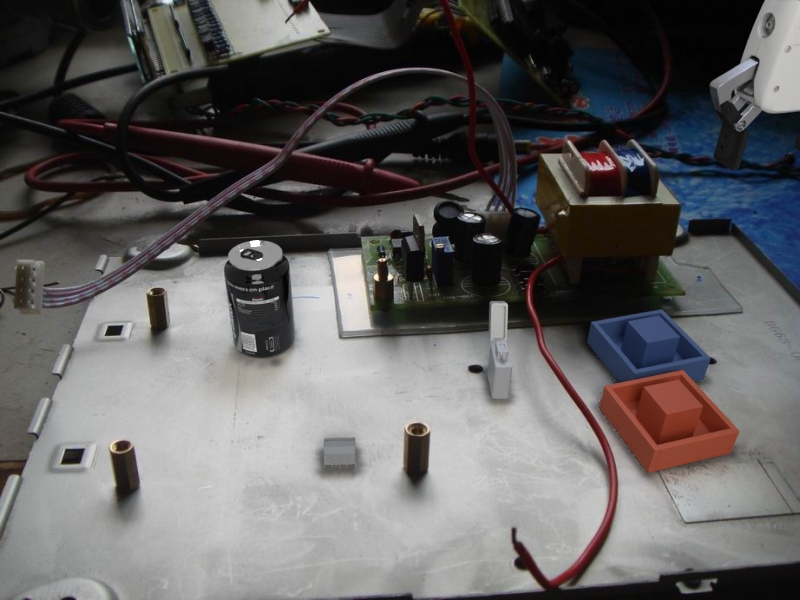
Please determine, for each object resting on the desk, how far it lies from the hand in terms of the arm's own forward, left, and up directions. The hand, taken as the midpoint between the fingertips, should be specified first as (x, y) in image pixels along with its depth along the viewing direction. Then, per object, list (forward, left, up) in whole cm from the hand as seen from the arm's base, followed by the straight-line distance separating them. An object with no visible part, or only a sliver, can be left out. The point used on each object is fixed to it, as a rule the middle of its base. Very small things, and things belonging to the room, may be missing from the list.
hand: (766, 158), depth 75 cm
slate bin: (+10, +2, -22) cm, 25 cm away
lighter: (+27, 0, -22) cm, 35 cm away
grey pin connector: (+46, +7, -22) cm, 52 cm away
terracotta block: (+14, +12, -22) cm, 29 cm away
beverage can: (+50, -12, -22) cm, 56 cm away
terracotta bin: (+14, +12, -22) cm, 29 cm away
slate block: (+10, +2, -22) cm, 24 cm away
